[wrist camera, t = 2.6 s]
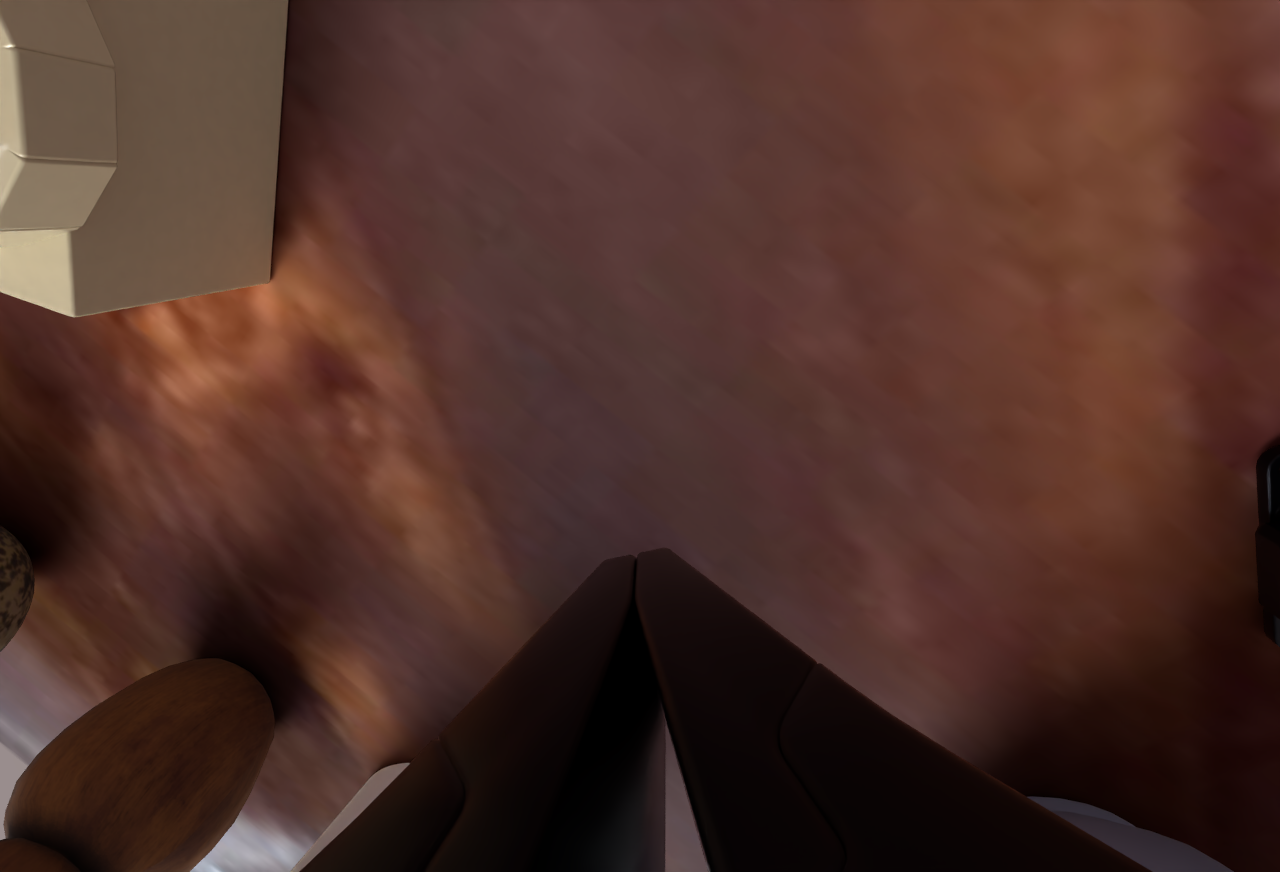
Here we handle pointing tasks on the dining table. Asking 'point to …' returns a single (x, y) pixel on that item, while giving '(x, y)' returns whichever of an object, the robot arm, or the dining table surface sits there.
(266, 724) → the wooden figurine
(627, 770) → the robot arm
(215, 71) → the button base
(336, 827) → the cup
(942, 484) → the dining table surface
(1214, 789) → the dining table surface
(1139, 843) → the bowl
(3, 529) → the decorative egg
